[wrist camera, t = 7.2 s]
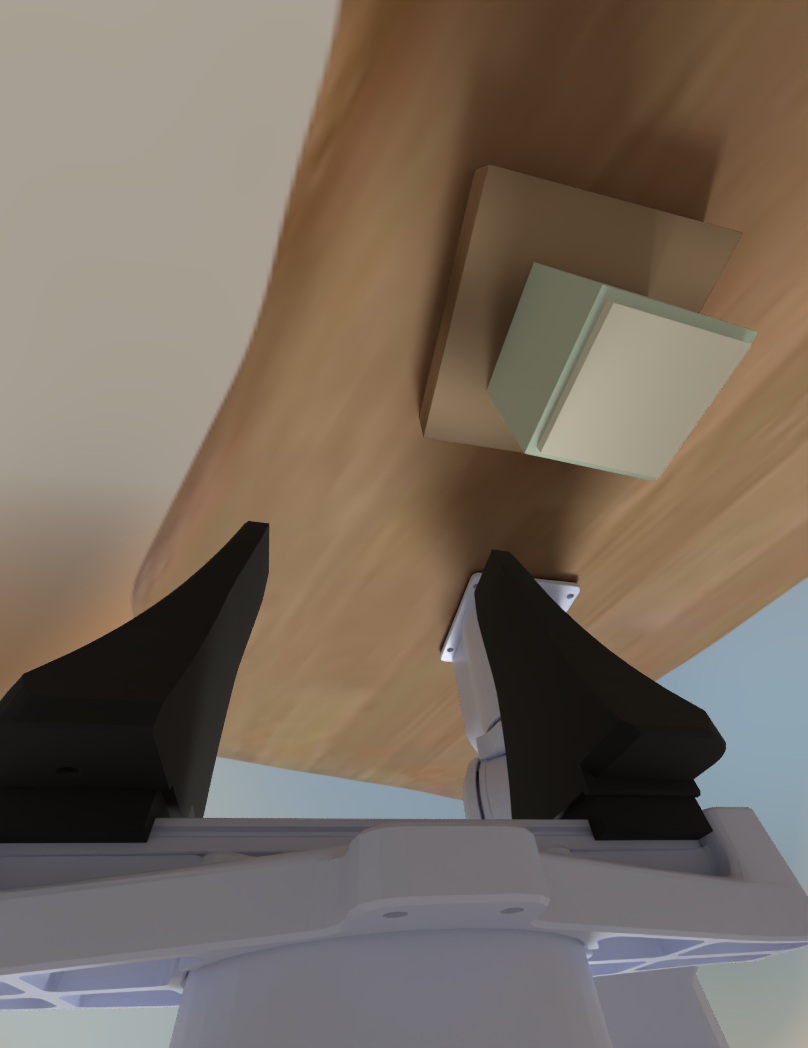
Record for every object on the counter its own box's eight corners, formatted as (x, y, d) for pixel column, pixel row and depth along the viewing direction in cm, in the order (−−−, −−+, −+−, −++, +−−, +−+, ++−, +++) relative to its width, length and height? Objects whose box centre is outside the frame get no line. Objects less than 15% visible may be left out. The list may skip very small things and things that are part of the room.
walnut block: (589, 441, 24) (614, 467, 21) (418, 413, 22) (423, 437, 20) (693, 230, 18) (743, 233, 16) (471, 171, 16) (488, 163, 14)
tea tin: (586, 414, 19) (661, 487, 14) (486, 390, 19) (528, 459, 13) (648, 297, 17) (769, 335, 11) (533, 261, 16) (609, 286, 11)
